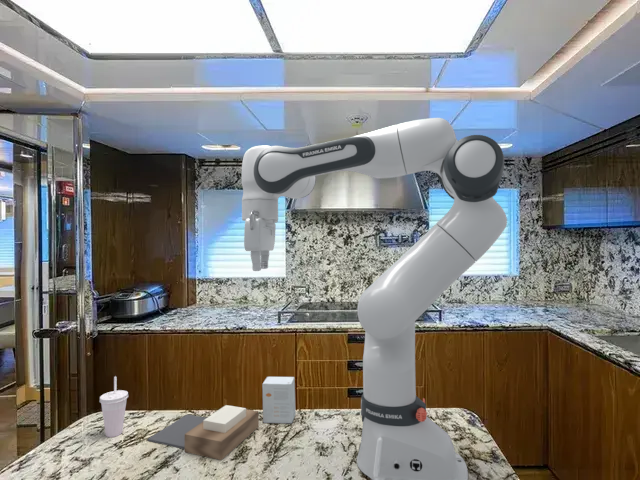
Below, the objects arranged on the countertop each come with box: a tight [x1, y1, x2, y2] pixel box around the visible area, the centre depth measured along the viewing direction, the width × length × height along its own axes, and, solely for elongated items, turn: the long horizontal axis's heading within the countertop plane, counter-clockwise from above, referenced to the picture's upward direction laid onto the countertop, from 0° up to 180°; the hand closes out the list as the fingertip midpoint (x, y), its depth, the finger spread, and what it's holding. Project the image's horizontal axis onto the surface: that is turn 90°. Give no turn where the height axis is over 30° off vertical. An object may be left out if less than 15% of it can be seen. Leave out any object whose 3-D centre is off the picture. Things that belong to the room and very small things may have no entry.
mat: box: [147, 414, 207, 450], centre depth 94 cm, size 12×14×1 cm
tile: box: [203, 404, 247, 433], centre depth 90 cm, size 6×9×2 cm, turn 159°
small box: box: [262, 376, 296, 424], centre depth 100 cm, size 8×6×10 cm
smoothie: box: [98, 376, 129, 438], centre depth 94 cm, size 6×6×14 cm
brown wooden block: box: [184, 408, 260, 461], centre depth 90 cm, size 10×16×4 cm, turn 159°
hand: (260, 269), depth 90 cm, fingers open, 8 cm apart
